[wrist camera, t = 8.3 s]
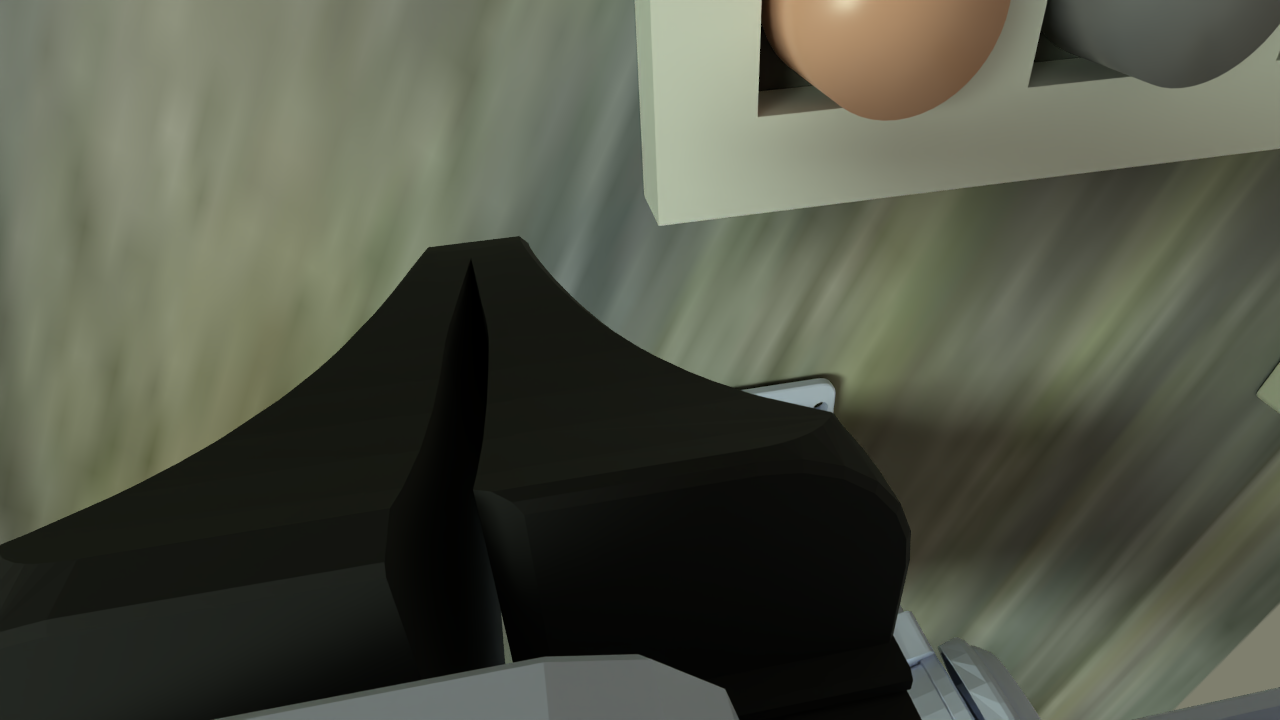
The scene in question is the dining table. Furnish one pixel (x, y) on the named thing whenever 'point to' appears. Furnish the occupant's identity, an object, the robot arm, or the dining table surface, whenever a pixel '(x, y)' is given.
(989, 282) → the dining table surface
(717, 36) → the panel
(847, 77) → the terracotta button
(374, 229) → the dining table surface
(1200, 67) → the charcoal button
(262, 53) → the dining table surface
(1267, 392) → the skincare box
